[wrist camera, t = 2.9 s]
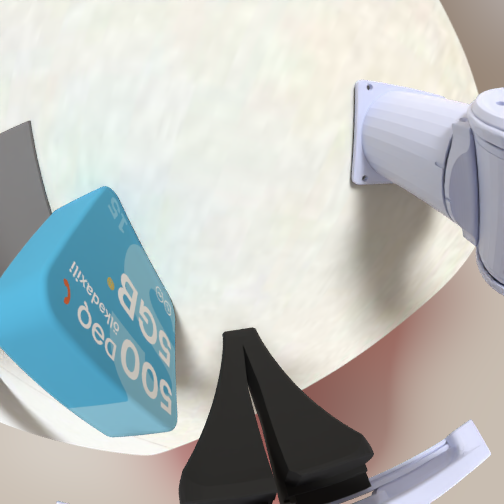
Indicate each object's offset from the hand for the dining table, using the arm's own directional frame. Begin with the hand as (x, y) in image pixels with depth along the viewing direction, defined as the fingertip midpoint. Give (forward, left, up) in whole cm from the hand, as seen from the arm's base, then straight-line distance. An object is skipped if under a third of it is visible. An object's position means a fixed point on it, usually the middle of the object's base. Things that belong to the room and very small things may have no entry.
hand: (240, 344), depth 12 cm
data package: (+8, +1, -11) cm, 13 cm away
